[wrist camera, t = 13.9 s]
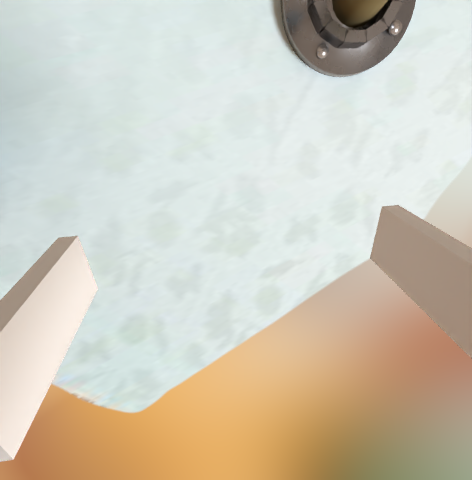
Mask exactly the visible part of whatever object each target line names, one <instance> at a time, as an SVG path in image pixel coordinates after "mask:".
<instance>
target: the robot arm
mask: <svg viewBox="0 0 472 480" xmlns="http://www.w3.org/2000/svg"><path fill="white" fill-rule="evenodd" d="M370 258H371V259H372V260H373V261H374V262H375V263H376V264H377V265H378V266H379V267H380V268H381V269H382V270H383V271H384V272H385V273H386V274H387V275H388V276H389V277H390V278H391V279H392V280H393V281H394V282H395V283H396V284H397V285H398V286H399V287H400V288H401V289H402V290H403V291H404V292H405V293H406V294H407V295H408V296H409V297H410V298H411V299H412V300H413V301H414V302H415V303H416V304H417V305H418V306H419V307H420V308H421V309H422V310H423V311H424V312H425V313H426V314H427V315H428V316H429V317H430V318H431V319H432V320H433V321H434V322H435V323H436V324H437V325H438V326H439V327H440V328H441V329H442V330H443V331H444V332H446V334H447V335H448V336H450V338H451V339H452V340H454V342H456V344H457V345H458V346H460V347H461V348H462V349H463V350H464V351H465V352H466V353H467V354H468V355H469V356H470V357H471V358H472V248H470V247H469V246H467V245H465V244H463V243H462V242H460V241H458V240H457V239H454V238H453V237H451V236H450V235H448V234H446V233H445V232H443V231H441V230H440V229H438V228H436V227H435V226H433V225H431V224H429V223H428V222H426V221H424V220H423V219H421V218H419V217H418V216H416V215H414V214H412V213H411V212H409V211H407V210H406V209H404V208H402V207H400V206H399V205H394V206H384V207H382V209H381V213H380V217H379V222H378V226H377V230H376V235H375V239H374V243H373V248H372V252H371V256H370ZM97 290H98V287H97V285H96V282H95V279H94V277H93V274H92V271H91V269H90V266H89V263H88V261H87V258H86V256H85V253H84V250H83V248H82V245H81V242H80V240H79V237H78V236H72V237H62V238H58V239H57V240H56V241H55V242H54V243H53V244H52V245H51V246H50V247H49V249H48V250H47V251H46V252H45V253H44V254H43V255H42V256H41V257H40V258H39V259H38V260H37V262H36V263H35V264H34V265H33V266H32V267H31V268H30V269H29V270H28V271H27V272H26V273H25V275H24V276H23V277H22V278H21V279H20V280H19V281H18V282H17V283H16V284H15V285H14V286H13V287H12V289H11V290H10V291H9V292H8V293H7V294H6V295H5V296H4V297H3V298H2V299H1V300H0V462H1V461H8V460H13V459H14V457H15V455H16V453H17V451H18V449H19V447H20V445H21V443H22V441H23V439H24V437H25V435H26V433H27V431H28V429H29V427H30V425H31V423H32V421H33V419H34V417H35V415H36V413H37V411H38V409H39V407H40V405H41V403H42V401H43V399H44V397H45V395H46V393H47V391H48V388H49V386H50V385H51V383H52V381H53V379H54V377H55V375H56V373H57V371H58V369H59V366H60V364H61V362H62V360H63V358H64V356H65V354H66V352H67V350H68V348H69V346H70V344H71V342H72V340H73V338H74V336H75V334H76V332H77V330H78V328H79V326H80V324H81V322H82V320H83V318H84V316H85V314H86V312H87V310H88V308H89V306H90V304H91V302H92V300H93V298H94V296H95V294H96V292H97Z"/></svg>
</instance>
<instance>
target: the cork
mask: <svg viewBox="0 0 472 480" xmlns="http://www.w3.org/2000/svg"><path fill="white" fill-rule="evenodd" d="M387 1H388V0H332V5H333V10H334V13H335V15H336V17H337V18H338V20H339V21H340V22H341V23H342V24H344V25H346V26H348V27H353V28H357V27H361V26H364V25H365V24H367V23H368V22H370V21H371V20H372V19H373V17H374V16H375V15H376V14H377V13H378V12H379V10H380V9H381V8H382V7H383V6H384V5H385V3H386V2H387Z"/></svg>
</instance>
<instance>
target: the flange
mask: <svg viewBox="0 0 472 480" xmlns="http://www.w3.org/2000/svg"><path fill="white" fill-rule="evenodd" d="M415 1H416V0H388V1H387V2H386V3H385V5H384V6H383V7H382V8H381V9H380V10H379V12H378V13H377V14H376V15H375V16H374V17H373V19H372V20H371V21H370V22H368V23H367V24H365V25H364V26H361V27H357V28H353V27H348V26H346V25H344V24H342V23H341V22H340V21H339V20H338V18H337V17H336V15H335V13H334V10H333V5H332V0H281V9H282V18H283V24H284V28H285V31H286V34H287V37H288V39H289V42H290V43H291V45H292V47H293V49H294V51H295V52H296V53H297V55H298V56H299V57H300V58H301V59H302V60H303V62H304V63H306V64H307V65H308V66H309V67H311V68H312V69H314V70H316V71H317V72H319V73H322V74H324V75H328V76H333V77H347V76H352V75H356V74H359V73H361V72H364V71H366V70H368V69H369V68H371V67H373V66H375V65H376V64H378V63H379V62H381V61H382V60H383V59H384V58H385V57H387V56H388V55H389V54H390V53H391V52H392V50H393V49H394V48H395V47H396V46H397V44H398V43H399V41H400V40H401V38H402V37H403V35H404V33H405V31H406V29H407V27H408V25H409V22H410V20H411V17H412V14H413V10H414V7H415Z"/></svg>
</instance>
